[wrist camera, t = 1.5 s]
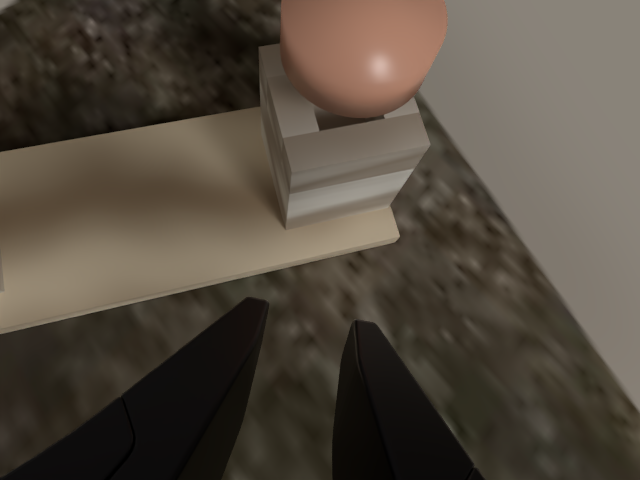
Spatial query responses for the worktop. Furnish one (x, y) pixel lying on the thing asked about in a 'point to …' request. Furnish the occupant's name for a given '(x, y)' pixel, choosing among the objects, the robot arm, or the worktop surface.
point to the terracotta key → (360, 51)
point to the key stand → (196, 201)
